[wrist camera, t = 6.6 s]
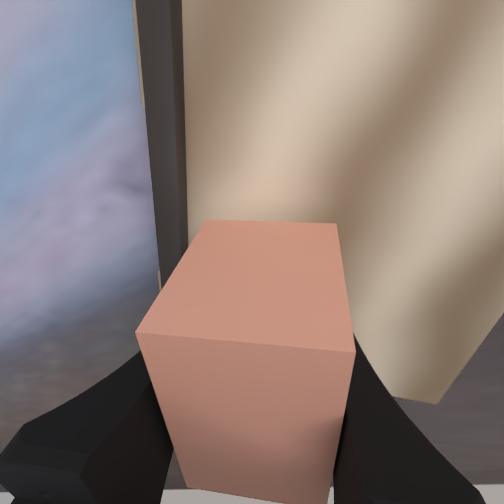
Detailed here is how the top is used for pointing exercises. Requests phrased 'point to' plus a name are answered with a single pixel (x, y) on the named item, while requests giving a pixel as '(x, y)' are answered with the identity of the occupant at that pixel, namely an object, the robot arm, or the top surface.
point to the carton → (254, 358)
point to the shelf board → (343, 154)
